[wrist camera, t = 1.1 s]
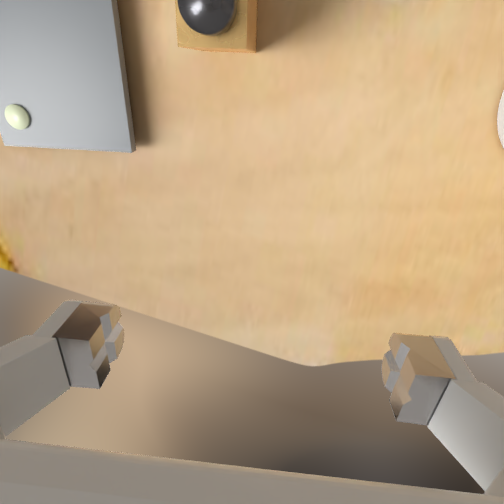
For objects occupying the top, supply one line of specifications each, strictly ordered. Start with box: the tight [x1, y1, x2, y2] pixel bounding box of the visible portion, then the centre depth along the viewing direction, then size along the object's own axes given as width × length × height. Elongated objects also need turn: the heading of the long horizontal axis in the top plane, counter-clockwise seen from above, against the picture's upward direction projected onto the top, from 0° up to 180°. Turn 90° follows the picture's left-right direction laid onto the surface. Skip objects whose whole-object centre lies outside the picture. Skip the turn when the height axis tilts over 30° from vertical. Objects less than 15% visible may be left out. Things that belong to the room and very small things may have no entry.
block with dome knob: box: [175, 0, 258, 53], centre depth 26 cm, size 5×5×11 cm
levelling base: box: [0, 0, 136, 153], centre depth 33 cm, size 14×16×2 cm
